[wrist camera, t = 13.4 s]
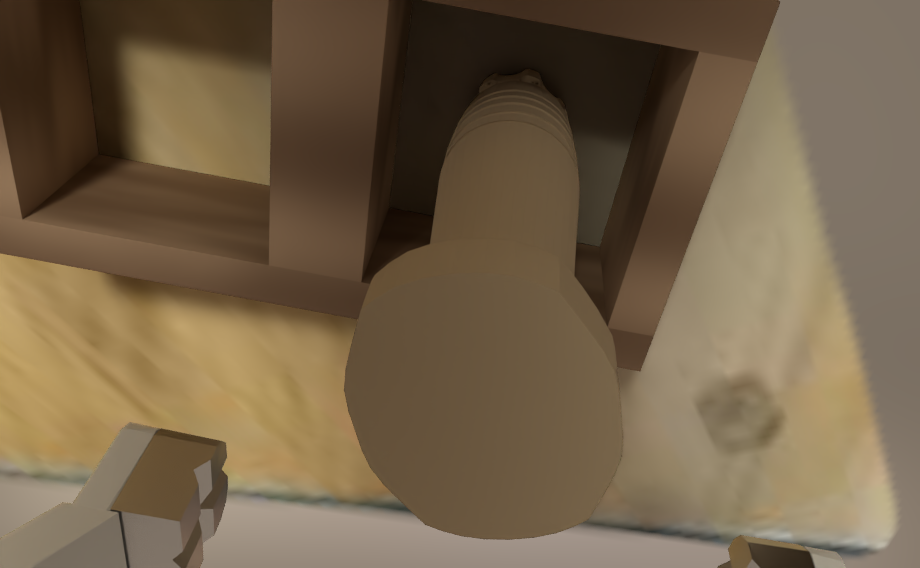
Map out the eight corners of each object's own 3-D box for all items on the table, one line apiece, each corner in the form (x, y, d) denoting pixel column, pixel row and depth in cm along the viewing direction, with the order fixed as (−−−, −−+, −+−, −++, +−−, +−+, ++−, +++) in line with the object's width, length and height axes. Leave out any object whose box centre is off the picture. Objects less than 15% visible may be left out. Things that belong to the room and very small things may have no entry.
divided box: (8, -177, 23) (-113, -164, 19) (739, -41, 23) (780, 2, 19) (64, 182, 30) (-15, 250, 25) (628, 286, 30) (640, 371, 25)
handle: (463, 202, 28) (393, 543, 16) (429, 26, 25) (306, 287, 12) (596, 188, 27) (631, 535, 15) (580, 3, 24) (607, 258, 12)
